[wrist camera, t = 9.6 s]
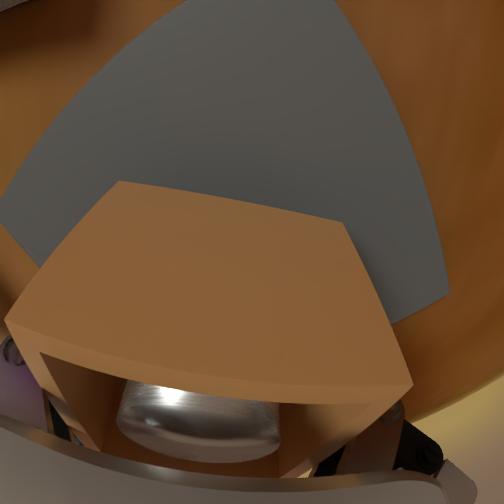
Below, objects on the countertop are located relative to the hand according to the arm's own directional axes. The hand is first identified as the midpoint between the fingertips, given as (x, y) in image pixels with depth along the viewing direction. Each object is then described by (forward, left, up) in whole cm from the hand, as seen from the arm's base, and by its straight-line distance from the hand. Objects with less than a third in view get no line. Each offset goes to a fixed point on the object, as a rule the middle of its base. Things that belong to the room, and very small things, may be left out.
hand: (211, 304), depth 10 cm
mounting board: (0, 0, -4) cm, 4 cm away
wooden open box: (-1, +1, -1) cm, 2 cm away
